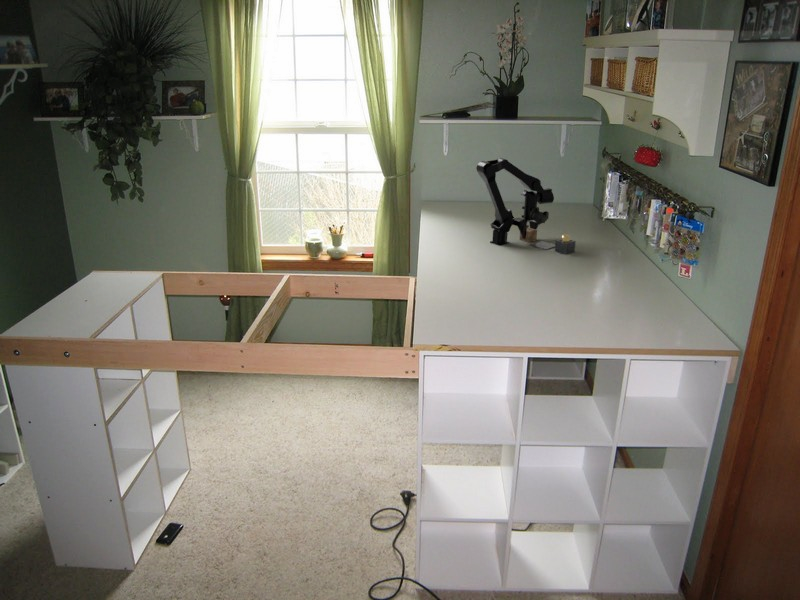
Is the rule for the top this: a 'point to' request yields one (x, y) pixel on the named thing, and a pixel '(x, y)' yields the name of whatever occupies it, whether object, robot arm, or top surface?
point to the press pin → (565, 237)
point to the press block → (565, 246)
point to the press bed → (543, 245)
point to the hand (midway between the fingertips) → (528, 237)
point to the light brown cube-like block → (529, 235)
